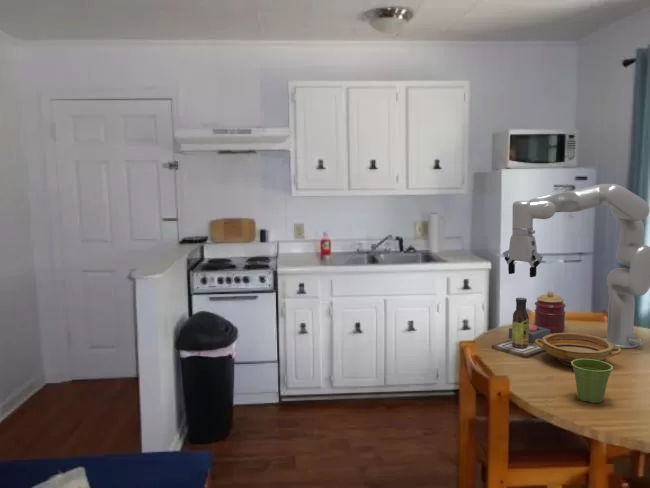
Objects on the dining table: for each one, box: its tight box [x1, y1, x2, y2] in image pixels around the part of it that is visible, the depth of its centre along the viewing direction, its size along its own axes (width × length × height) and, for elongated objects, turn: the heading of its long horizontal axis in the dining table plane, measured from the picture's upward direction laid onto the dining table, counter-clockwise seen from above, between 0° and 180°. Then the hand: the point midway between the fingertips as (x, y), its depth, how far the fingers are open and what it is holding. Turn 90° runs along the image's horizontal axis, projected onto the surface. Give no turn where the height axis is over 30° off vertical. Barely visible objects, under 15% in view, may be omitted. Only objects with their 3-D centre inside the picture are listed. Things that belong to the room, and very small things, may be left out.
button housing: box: [508, 326, 551, 345], centre depth 237 cm, size 12×12×4 cm
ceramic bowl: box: [535, 332, 622, 367], centre depth 206 cm, size 30×24×8 cm
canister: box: [533, 291, 566, 334], centre depth 248 cm, size 13×13×18 cm
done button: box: [529, 323, 537, 332], centre depth 237 cm, size 6×6×3 cm
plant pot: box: [571, 359, 614, 404], centre depth 173 cm, size 12×12×11 cm
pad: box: [491, 339, 547, 359], centre depth 222 cm, size 16×14×1 cm
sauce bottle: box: [511, 297, 530, 348], centre depth 221 cm, size 6×6×20 cm
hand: (522, 275), depth 218 cm, fingers open, 9 cm apart
